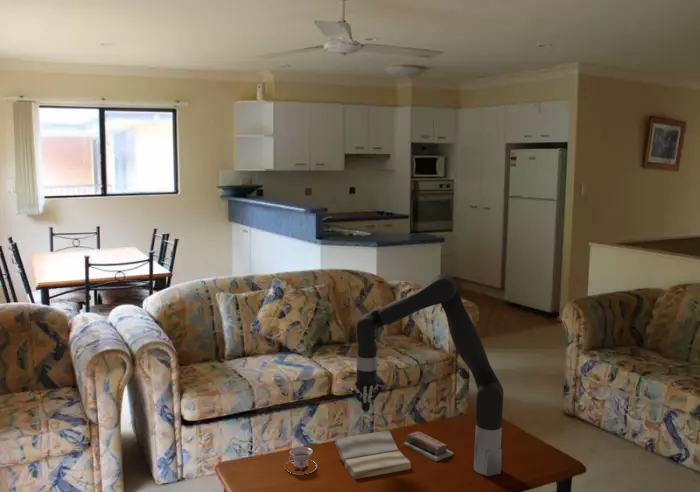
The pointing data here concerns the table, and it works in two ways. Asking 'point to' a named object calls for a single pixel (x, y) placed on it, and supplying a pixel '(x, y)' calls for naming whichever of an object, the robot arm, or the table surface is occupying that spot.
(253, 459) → the table surface
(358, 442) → the whitewashed plank
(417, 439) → the packaged product
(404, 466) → the oak plank
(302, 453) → the teacup
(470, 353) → the robot arm
